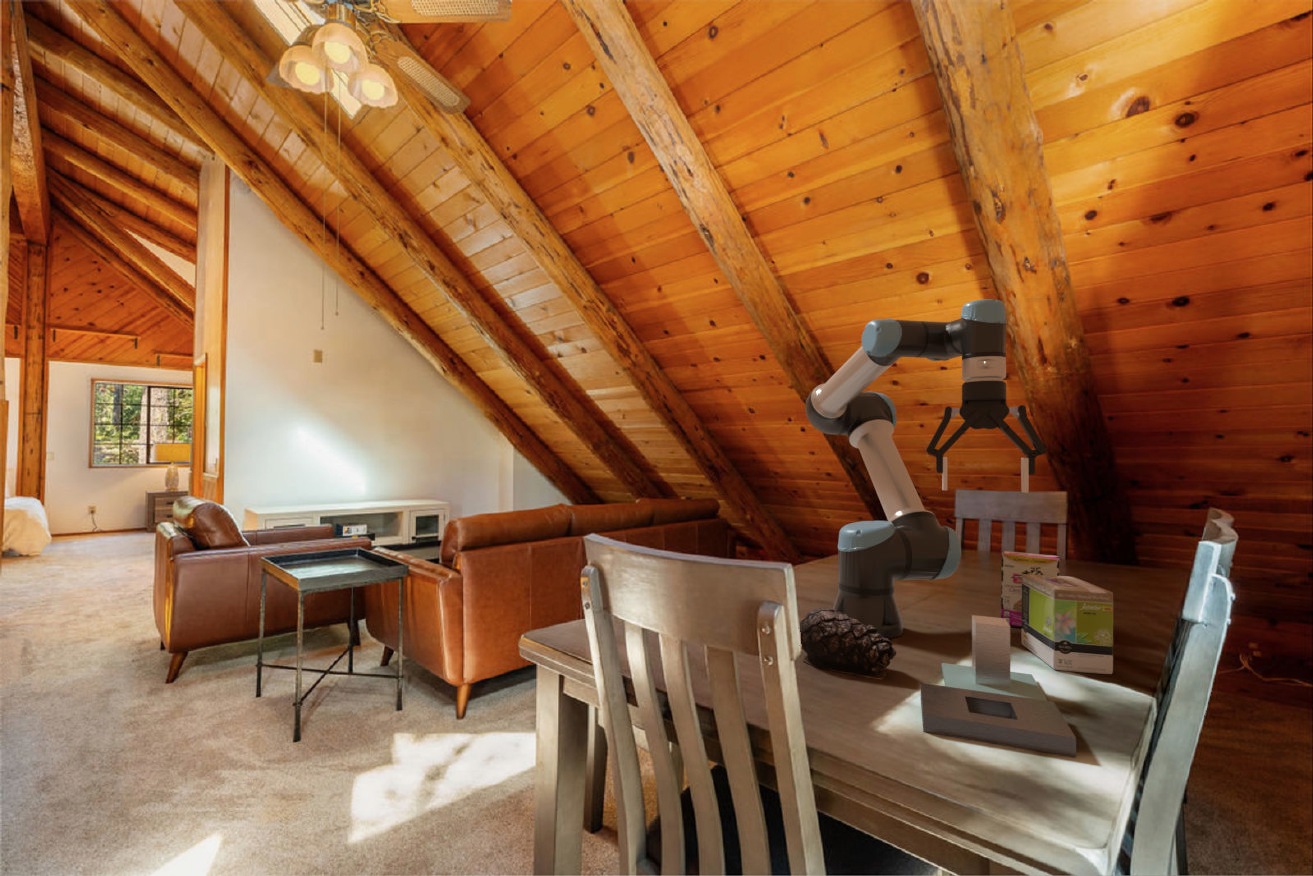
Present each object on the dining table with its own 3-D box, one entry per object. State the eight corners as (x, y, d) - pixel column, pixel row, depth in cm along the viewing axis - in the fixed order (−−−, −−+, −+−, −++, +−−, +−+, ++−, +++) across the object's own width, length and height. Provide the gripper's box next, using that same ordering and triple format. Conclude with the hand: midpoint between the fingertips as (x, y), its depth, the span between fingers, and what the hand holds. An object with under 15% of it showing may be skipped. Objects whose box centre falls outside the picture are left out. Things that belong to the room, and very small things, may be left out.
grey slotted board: (923, 731, 84) (923, 713, 84) (920, 698, 95) (920, 682, 95) (1076, 757, 77) (1076, 738, 77) (1053, 718, 88) (1053, 701, 88)
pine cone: (892, 685, 100) (893, 625, 101) (789, 665, 109) (790, 610, 110) (902, 666, 109) (902, 611, 109) (806, 649, 118) (806, 598, 119)
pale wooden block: (975, 683, 98) (975, 622, 99) (972, 673, 103) (972, 615, 103) (1010, 688, 97) (1010, 626, 97) (1005, 677, 101) (1005, 618, 101)
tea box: (1116, 676, 105) (1115, 591, 106) (1052, 671, 107) (1052, 588, 108) (1074, 648, 120) (1074, 574, 120) (1019, 644, 122) (1019, 572, 122)
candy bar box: (1000, 626, 135) (1000, 553, 135) (1001, 620, 139) (1001, 550, 139) (1060, 634, 129) (1059, 558, 129) (1059, 628, 133) (1059, 555, 133)
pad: (946, 693, 97) (946, 687, 97) (941, 668, 108) (941, 662, 108) (1047, 708, 92) (1047, 701, 92) (1031, 680, 103) (1031, 674, 103)
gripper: (913, 381, 117) (913, 490, 116) (1065, 376, 107) (1065, 494, 107) (913, 385, 123) (913, 488, 123) (1055, 381, 114) (1055, 492, 114)
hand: (983, 491), depth 115 cm, fingers open, 13 cm apart
